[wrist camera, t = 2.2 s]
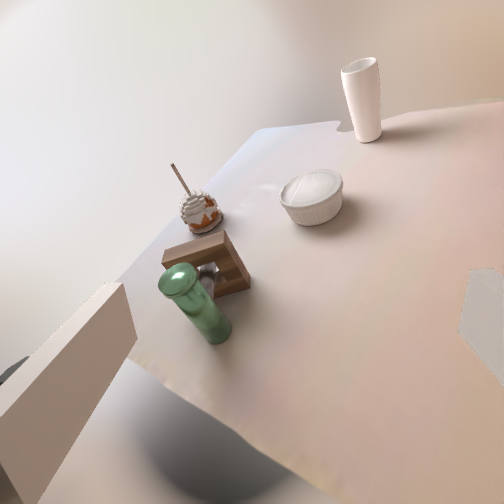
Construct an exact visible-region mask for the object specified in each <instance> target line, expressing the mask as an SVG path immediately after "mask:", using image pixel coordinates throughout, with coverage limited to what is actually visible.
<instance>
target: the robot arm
mask: <svg viewBox="0 0 504 504" xmlns="http://www.w3.org/2000/svg"><path fill="white" fill-rule="evenodd" d="M458 333H459V334H460V336H461V337H462V338H463V339H464V340H465V341H466V343H467V344H468V345H469V346H470V347H471V349H472V350H473V351H474V352H475V353H476V354H477V356H478V357H479V358H480V359H481V360H482V362H483V363H484V364H485V365H486V366H487V367H488V369H489V370H490V371H491V372H492V373H493V375H494V376H495V377H496V378H497V379H498V380H499V382H500V383H501V384H502V385H503V386H504V276H503V275H502V274H500V273H499V272H497V271H496V270H494V269H493V268H491V269H470V274H469V279H468V284H467V288H466V293H465V298H464V303H463V308H462V312H461V317H460V322H459V327H458ZM137 339H138V338H137V335H136V331H135V327H134V323H133V319H132V316H131V312H130V308H129V304H128V300H127V296H126V293H125V289H124V285H123V283H104V284H103V285H102V286H101V287H100V288H99V289H98V290H97V291H96V292H95V293H94V294H93V295H92V296H91V297H90V298H89V299H88V300H87V301H86V302H85V303H84V304H83V305H82V306H81V307H80V308H79V309H78V310H77V311H76V312H75V313H74V314H73V315H72V316H71V317H70V318H69V319H68V320H67V321H66V322H65V323H64V324H63V325H62V326H61V327H60V328H59V329H58V330H57V331H56V332H55V333H54V334H53V335H52V336H51V337H50V338H49V339H48V340H46V341H45V342H44V344H42V346H40V348H38V349H37V350H36V352H34V353H33V354H32V355H31V356H30V357H25V358H24V359H22V360H21V361H19V362H17V363H16V364H14V365H13V366H11V367H10V368H8V369H7V370H6V371H5V372H4V373H3V374H2V375H1V376H0V504H37V503H38V501H39V499H40V498H41V496H42V494H43V493H44V491H45V489H46V488H47V486H48V485H49V483H50V481H51V480H52V478H53V476H54V475H55V473H56V472H57V470H58V468H59V466H60V465H61V463H62V462H63V460H64V458H65V457H66V455H67V454H68V452H69V450H70V449H71V447H72V445H73V444H74V442H75V440H76V439H77V437H78V436H79V434H80V432H81V431H82V429H83V427H84V426H85V424H86V422H87V421H88V419H89V418H90V416H91V414H92V413H93V411H94V409H95V408H96V406H97V404H98V403H99V401H100V399H101V398H102V396H103V395H104V393H105V391H106V390H107V388H108V386H109V385H110V383H111V381H112V380H113V378H114V377H115V375H116V373H117V372H118V370H119V368H120V367H121V365H122V364H123V362H124V360H125V359H126V357H127V355H128V354H129V352H130V351H131V349H132V347H133V346H134V344H135V342H136V341H137Z"/></svg>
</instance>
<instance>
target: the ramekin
mask: <svg viewBox="0 0 504 504" xmlns="http://www.w3.org/2000/svg"><path fill="white" fill-rule="evenodd" d="M342 188H343V181H342V178H341V176H340V175H339V174H338V173H337V172H335V171H332V170H327V169H320V170H313V171H308V172H305V173H303V174H300V175H298V176H296V177H295V178H293V179H291V180H290V181H289V182H288V183H286V184H285V185H284V187H283V188H282V189H281V191H280V194H279V200H280V203H281V204H282V206H283V207H284V208H285V209H286V211H287V213H288V214H289V216H290V217H291V219H292V220H293V221H295V222H296V223H298V224H301V225H305V226H313V225H319V224H322V223H324V222H327V221H329V220H330V219H332V218H333V217H334V216H335V215H336V214H337V213H338V212H339V210H340V208H341V206H342V202H343V200H342Z"/></svg>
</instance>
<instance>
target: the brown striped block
mask: <svg viewBox="0 0 504 504" xmlns="http://www.w3.org/2000/svg"><path fill="white" fill-rule="evenodd" d="M211 262H214V263H215V264H216V266H217V267H218V269H219V270H220V271H217V272H216V275H215V289H214V298H216V297H220V296H223V295H227V294H230V293H233V292H237V291H240V290H244V289H247V288H250V277H249V273H248V271H247V269H246V268H245V266H244V264H243V262H242V260H241V259H240V257H239V255H238V253H237V252H236V250H235V248H234V246H233V244H232V243H231V241H230V239H229V237H228V236H227V234H226V232H225V230H223V231H220V232H217V233H214V234H211V235H208V236H205V237H202V238H199V239H196V240H193V241H190V242H187V243H184V244H181V245H178V246H175V247H172V248H169V249H166V250H165V251H164V255H163V259H162V263H161V264H162V265H163V266H164V267H165V269H166V270H168V269H169V268H171V267H172V266H174V265H176V264H179V263H189V264H191V265H192V266H193V268H194V269H195V270H196V272H197V274H198V280H199V276H200V271H199V269H198V268H197V267H199V266H202V265H205V264H208V263H211Z"/></svg>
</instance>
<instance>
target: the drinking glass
mask: <svg viewBox="0 0 504 504" xmlns="http://www.w3.org/2000/svg"><path fill="white" fill-rule="evenodd" d="M341 76H342V83H343V88H344V93H345V97H346V101H347V104H348V108H349V111H350V115H351V119H352V122H353V126H354V130H355V135H356V139H357V141H359V142H362V143H367V142H371V141H374V140H376V139H378V138H379V137H380V136H381V134H382V128H381V109H380V78H379V70H378V63H377V59H376V58H364V59H361V60H358V61H355V62H352V63H350V64H348V65H347V66H345V67H344V68H343V69H342V71H341Z"/></svg>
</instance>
